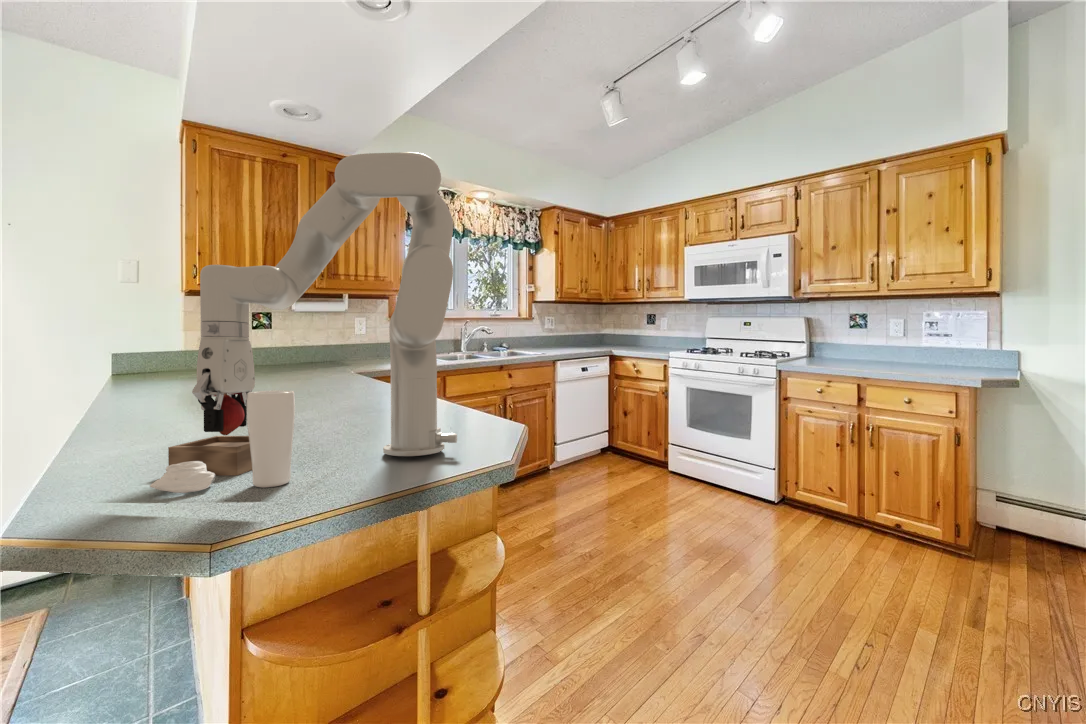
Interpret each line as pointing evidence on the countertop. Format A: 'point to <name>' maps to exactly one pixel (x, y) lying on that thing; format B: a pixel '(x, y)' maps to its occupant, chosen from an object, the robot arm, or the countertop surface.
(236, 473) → the walnut base
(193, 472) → the whipped cream
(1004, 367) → the countertop surface
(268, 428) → the drinking glass
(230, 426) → the onion
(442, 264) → the robot arm
